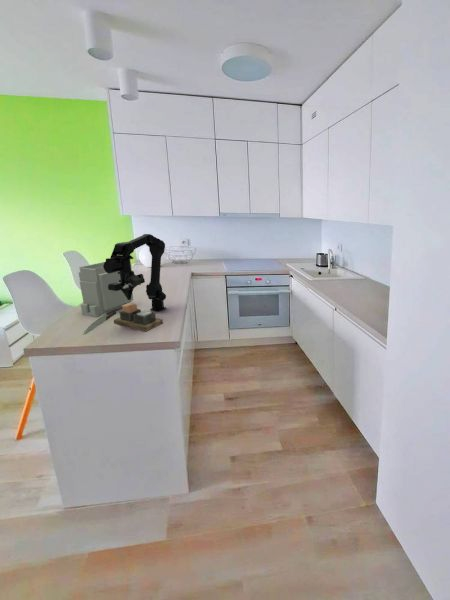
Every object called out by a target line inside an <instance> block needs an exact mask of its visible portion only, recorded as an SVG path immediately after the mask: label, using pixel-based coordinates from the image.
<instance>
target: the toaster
mask: <svg viewBox="0 0 450 600" xmlns="http://www.w3.org/2000/svg"><path fill="white" fill-rule="evenodd" d="M105 262H106V261H103V262H98V263H94V264H89V265H84V266H79V272H78V278H79V285H80V290H81V292H80V293H81V297H82V302H83V303H82V304H80V308H81V315H84V316H89V317H94V318H96V317H100V316H102V315H103V314H105V313H106V314H110V313H112V312H114V311H117V310H118V309H121V308H122V306H123V305H126V304H129V303H132V302H133V301H134V295H133V294H134V293H133V292H132V296H131V300H128V299H127V298H126V296H125V295H124V293H123V292H122V291H121V290H119V291H113V290H108V285H109V284H111V283H121V282H119V280H120V274H118V272H119V271H117V272H113V273H107V272H106V271H105V270H104V267H103V266H104V263H105Z"/></svg>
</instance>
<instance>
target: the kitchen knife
mask: <svg viewBox="0 0 450 600" xmlns="http://www.w3.org/2000/svg"><path fill="white" fill-rule="evenodd" d="M116 314H118V313H117V310H114V311H111V312H110V313H105V314H103V315H101V316H98V318H96V319H95V320H93V321H92V322H91V323H89V325H87V326H86V328H85V329H84V330H83V332H82V336H84V335H85V334H86V333H88V332H89V331H91V330H92V329H94V328H95V327H97V326H99V325H101V324H102V323H104V322H105V321H107V320H109V319H111V318H112V317H114V316H115V315H116Z"/></svg>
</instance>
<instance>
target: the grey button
mask: <svg viewBox="0 0 450 600" xmlns="http://www.w3.org/2000/svg"><path fill="white" fill-rule="evenodd" d="M149 314H152V311H149V312H148V310H145V311H144V310H143V311H142V310H141V312H140V313H137V315H139V316H143V317H145V316H147V315H149Z"/></svg>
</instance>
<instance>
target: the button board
mask: <svg viewBox="0 0 450 600" xmlns="http://www.w3.org/2000/svg"><path fill="white" fill-rule="evenodd" d="M143 311H146V310H143ZM147 311H148V310H147ZM140 312H142V310H141V309H139V308H137V311H134V312H132V313H126V312H123V310H120V311H119V317H117V318H115V319H113V323H114V324H115V325H119V326H123V327H125V328H130V329H134V330H137V331H141V332H145V333H146V332H148V331H150V330H152V329H154V328H156V327H159V326H161V325H162V324H163V323H164V321H163V318H162V319H161V318H157V317H156V312H155V311H153V312H152V311H151V312H152V314H149V315H147V316H145V317H143V316H139V315H137V313H140ZM148 312H150V311H148Z"/></svg>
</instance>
